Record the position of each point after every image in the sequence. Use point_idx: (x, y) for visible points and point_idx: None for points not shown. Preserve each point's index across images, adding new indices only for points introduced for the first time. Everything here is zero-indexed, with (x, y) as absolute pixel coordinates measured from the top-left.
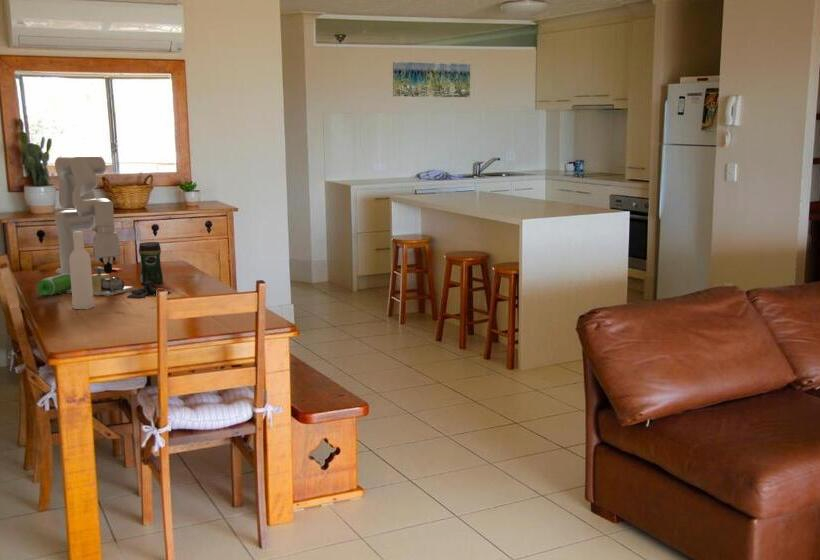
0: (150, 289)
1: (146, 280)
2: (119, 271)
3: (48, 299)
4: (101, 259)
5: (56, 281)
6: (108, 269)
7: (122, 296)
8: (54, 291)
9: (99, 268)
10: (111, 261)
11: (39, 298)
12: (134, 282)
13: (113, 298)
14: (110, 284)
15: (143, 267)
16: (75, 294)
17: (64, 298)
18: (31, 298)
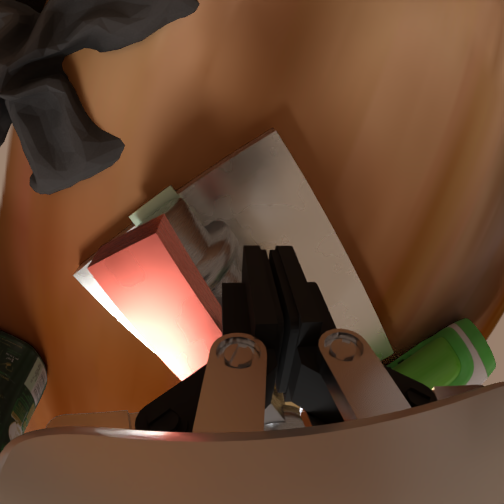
0: (15, 24)
1: (17, 351)
2: (135, 232)
3: (494, 254)
4: (417, 399)
5: (449, 374)
6: (281, 273)
7: (198, 62)
8: (450, 328)
9: (283, 418)
10: (229, 371)
11: (492, 292)
12: (76, 398)
13: (278, 31)
14: (231, 240)
15: (5, 408)
16: None
17: (460, 235)
18: (498, 305)
